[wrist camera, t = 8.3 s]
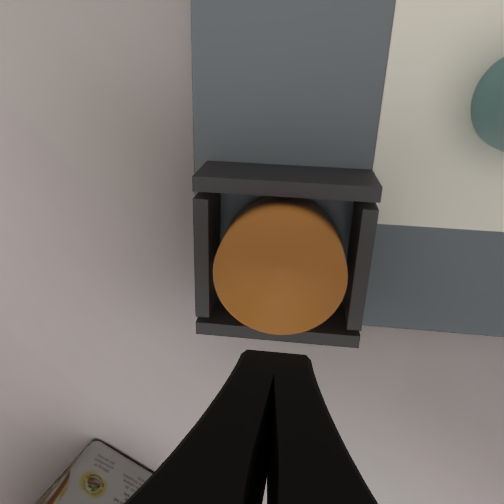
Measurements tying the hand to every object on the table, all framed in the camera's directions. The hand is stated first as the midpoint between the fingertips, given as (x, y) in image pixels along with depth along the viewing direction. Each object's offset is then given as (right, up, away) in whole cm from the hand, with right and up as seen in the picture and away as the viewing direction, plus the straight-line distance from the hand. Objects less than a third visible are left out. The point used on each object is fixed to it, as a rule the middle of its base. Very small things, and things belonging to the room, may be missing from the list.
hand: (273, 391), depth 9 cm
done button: (+1, +3, +7) cm, 8 cm away
